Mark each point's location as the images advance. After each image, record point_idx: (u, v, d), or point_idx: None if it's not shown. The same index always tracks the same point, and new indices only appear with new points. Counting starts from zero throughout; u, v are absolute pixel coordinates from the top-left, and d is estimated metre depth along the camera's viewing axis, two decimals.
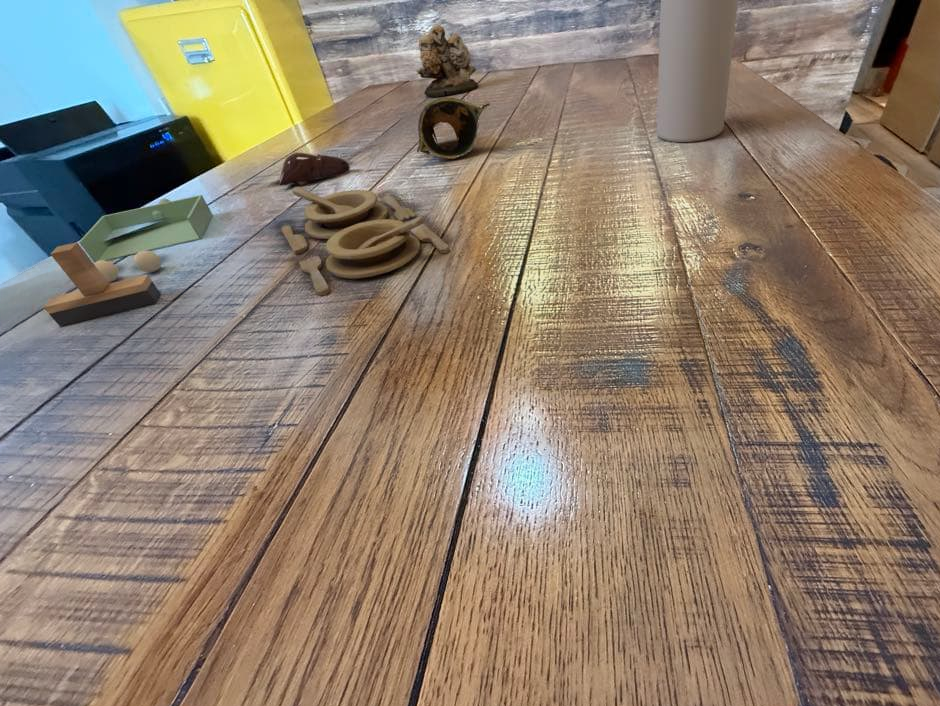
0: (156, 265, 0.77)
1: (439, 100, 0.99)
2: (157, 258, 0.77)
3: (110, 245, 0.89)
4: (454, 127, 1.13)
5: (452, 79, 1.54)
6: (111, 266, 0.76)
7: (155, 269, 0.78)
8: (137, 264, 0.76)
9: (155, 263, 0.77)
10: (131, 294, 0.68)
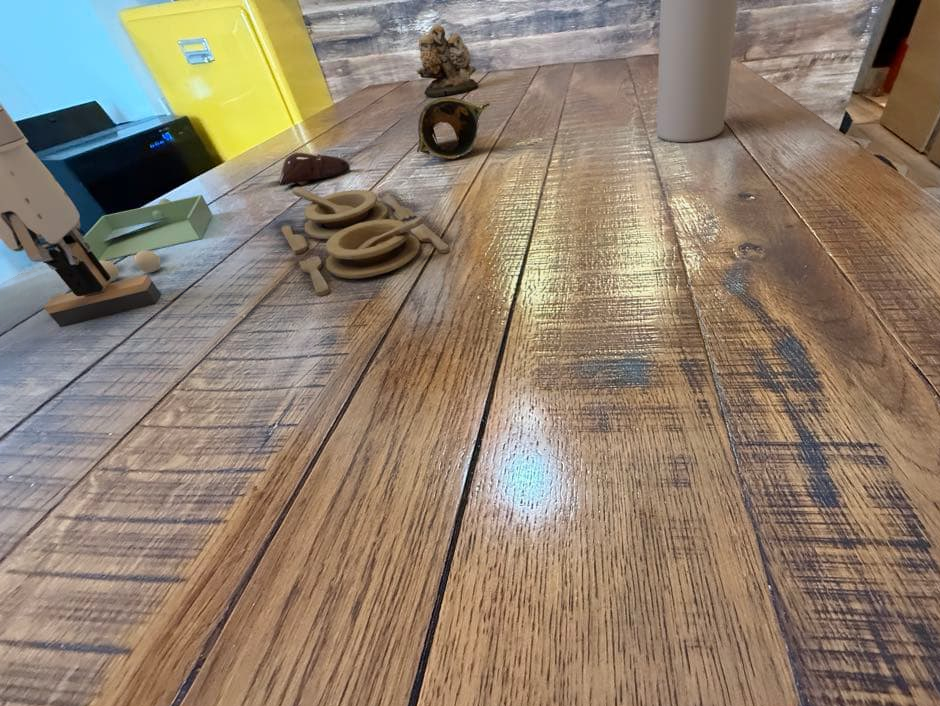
0: (156, 265, 0.77)
1: (439, 100, 0.99)
2: (157, 258, 0.77)
3: (110, 245, 0.89)
4: (454, 127, 1.13)
5: (452, 79, 1.54)
6: (111, 266, 0.76)
7: (155, 269, 0.78)
8: (137, 264, 0.76)
9: (155, 263, 0.77)
10: (131, 294, 0.68)
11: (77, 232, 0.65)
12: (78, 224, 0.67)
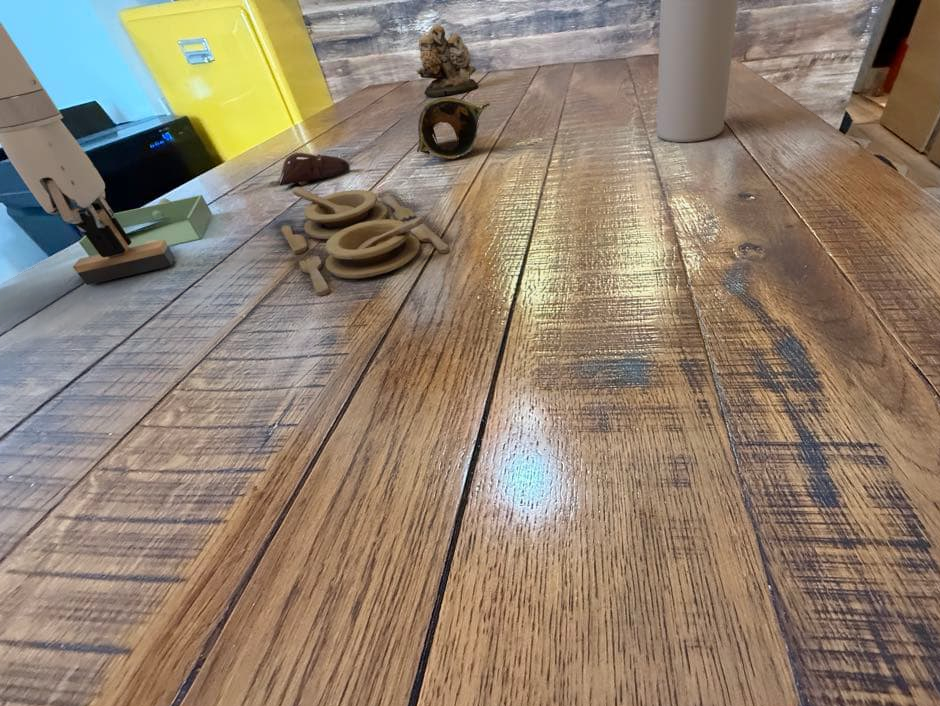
0: None
1: (439, 100, 0.99)
2: None
3: None
4: (454, 127, 1.13)
5: (452, 79, 1.54)
6: None
7: (155, 240, 0.80)
8: None
9: None
10: (150, 257, 0.77)
11: (103, 200, 0.74)
12: (103, 193, 0.76)
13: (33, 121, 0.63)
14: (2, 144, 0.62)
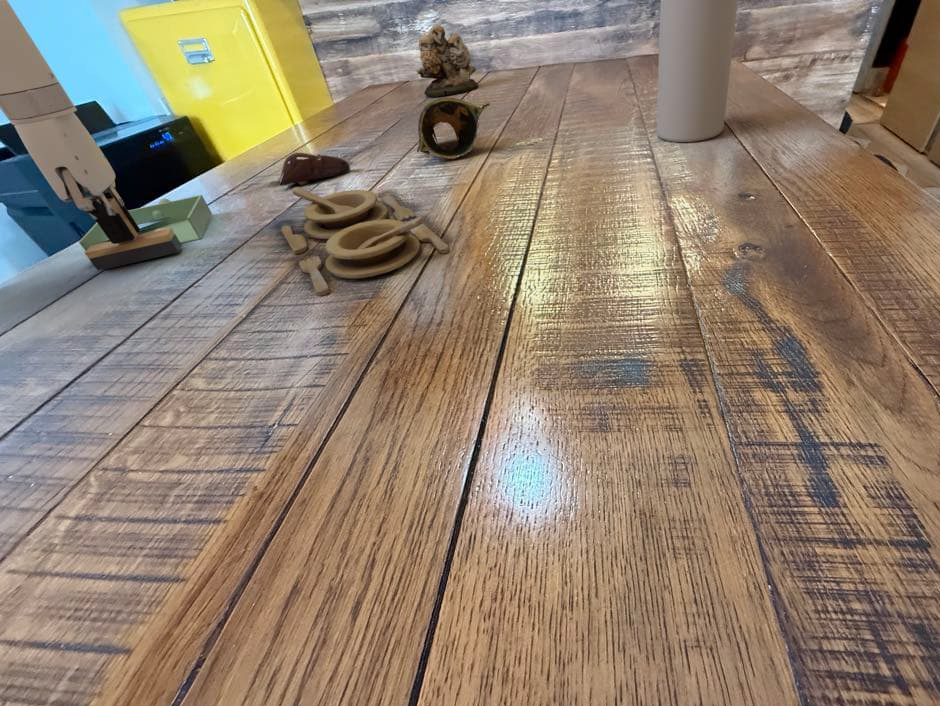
0: None
1: (439, 100, 0.99)
2: None
3: None
4: (454, 127, 1.13)
5: (452, 79, 1.54)
6: None
7: None
8: None
9: None
10: (158, 244, 0.80)
11: (113, 189, 0.78)
12: (113, 183, 0.80)
13: (49, 113, 0.66)
14: (20, 135, 0.66)
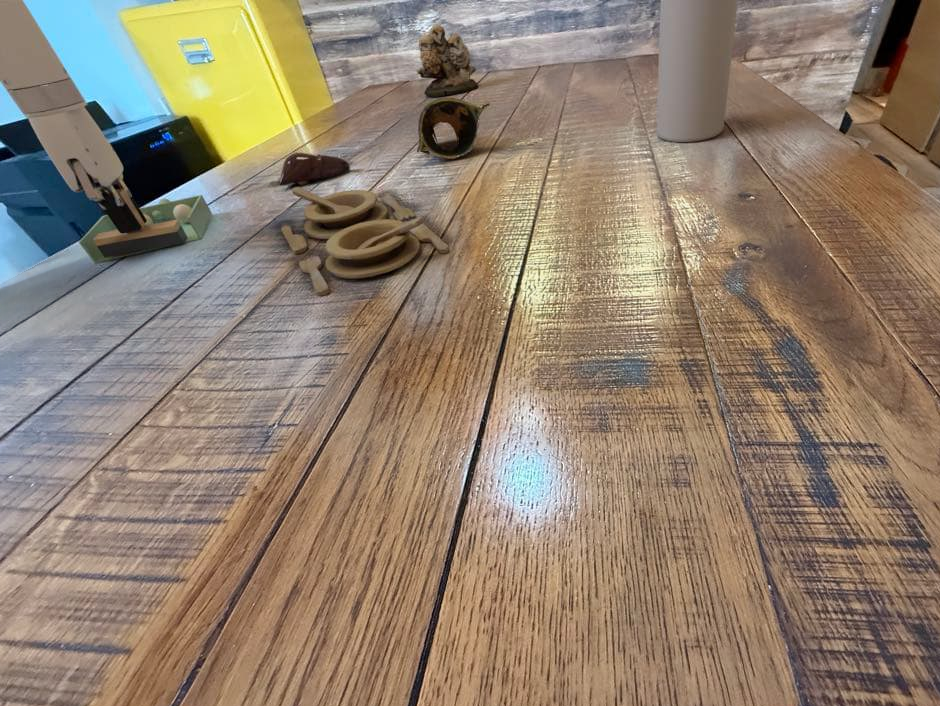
0: None
1: (439, 100, 0.99)
2: None
3: None
4: (454, 127, 1.13)
5: (452, 79, 1.54)
6: (149, 219, 0.91)
7: None
8: (176, 213, 0.91)
9: None
10: (164, 234, 0.84)
11: (121, 181, 0.81)
12: (121, 175, 0.83)
13: (61, 107, 0.70)
14: (34, 127, 0.69)
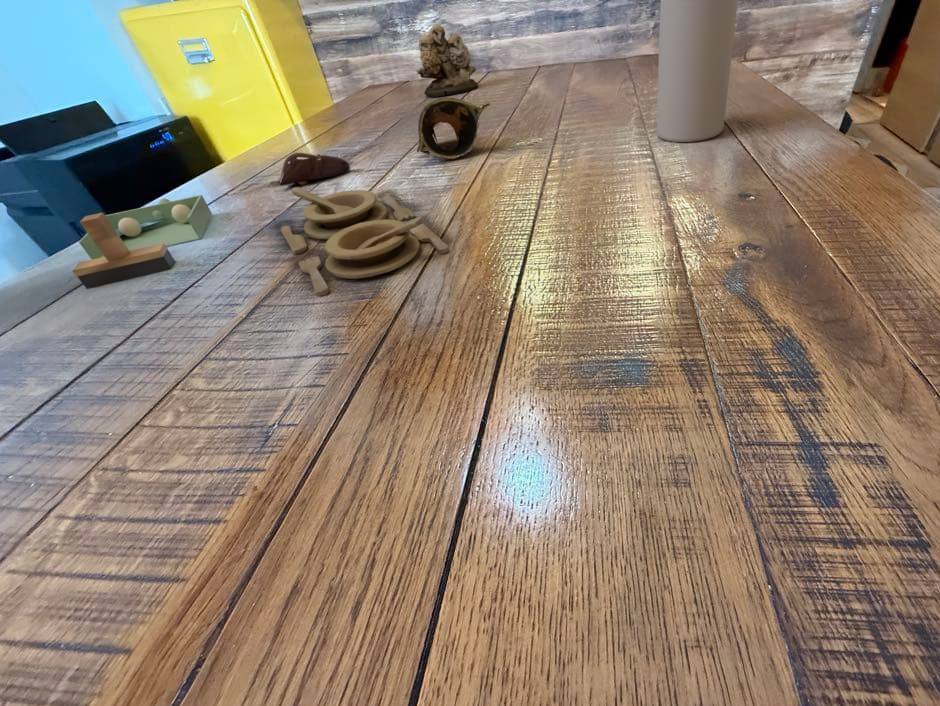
0: None
1: (439, 100, 0.99)
2: (190, 209, 0.92)
3: None
4: (454, 127, 1.13)
5: (452, 79, 1.54)
6: (128, 223, 0.89)
7: None
8: (174, 213, 0.91)
9: (189, 212, 0.92)
10: (149, 260, 0.77)
11: None
12: None
13: None
14: None
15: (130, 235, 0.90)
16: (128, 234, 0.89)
